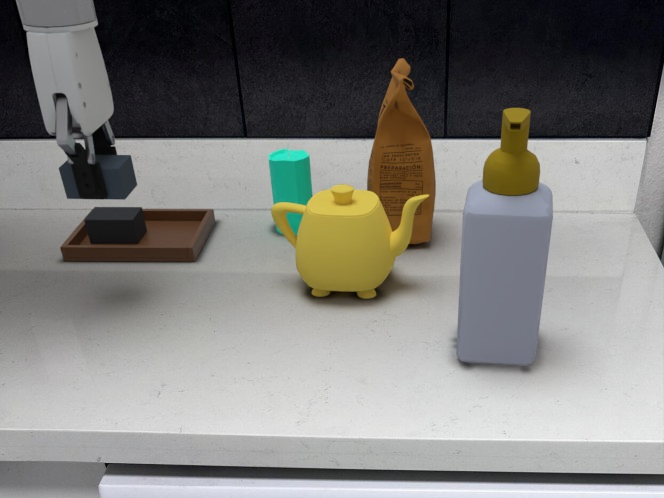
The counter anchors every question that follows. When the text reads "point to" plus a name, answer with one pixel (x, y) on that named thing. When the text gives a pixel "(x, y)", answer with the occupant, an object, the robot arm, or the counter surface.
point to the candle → (291, 181)
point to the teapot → (345, 239)
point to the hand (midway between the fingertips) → (101, 188)
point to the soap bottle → (504, 253)
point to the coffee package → (403, 158)
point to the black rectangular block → (115, 225)
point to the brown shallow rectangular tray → (149, 238)
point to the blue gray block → (105, 176)
